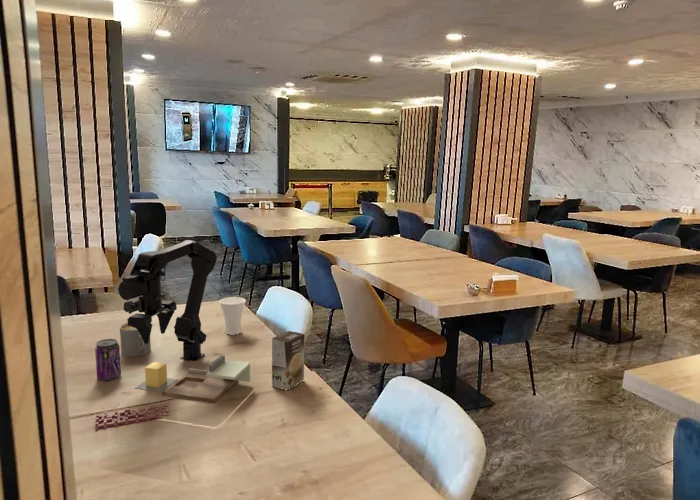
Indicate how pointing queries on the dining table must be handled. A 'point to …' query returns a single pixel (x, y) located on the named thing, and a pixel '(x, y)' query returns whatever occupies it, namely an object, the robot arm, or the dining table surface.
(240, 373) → the lid
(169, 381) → the coaster
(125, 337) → the coffee mug
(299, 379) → the food box
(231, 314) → the cup
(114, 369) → the beverage can
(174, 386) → the board
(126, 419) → the chocolate bar
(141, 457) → the dining table surface
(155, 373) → the block
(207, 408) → the dining table surface
